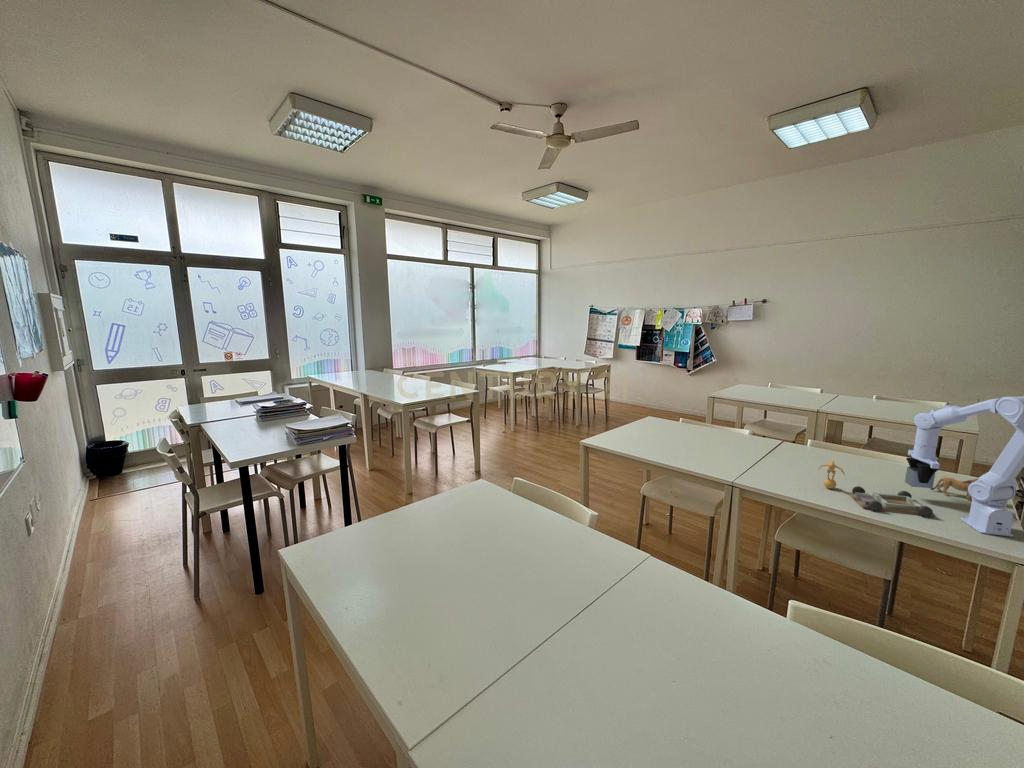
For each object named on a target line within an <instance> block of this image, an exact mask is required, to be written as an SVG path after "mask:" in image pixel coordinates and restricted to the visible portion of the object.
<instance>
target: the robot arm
mask: <svg viewBox="0 0 1024 768" xmlns="http://www.w3.org/2000/svg"><path fill="white" fill-rule="evenodd" d="M944 407H945V408H940V409H931V410H930V412H920V413H918V414H916V415H915V416H914V418H913V423H914V425H915V426H916V433H915V439H914V446H913V449H908V451H907V455H908V456H909V457H906V458H905V459H906V461H907V463H908V465H909V466H908V467H917V468H918V469H919V481H920V483H927V484H928V482H929V480H930V479H931V477H932V476H933V474H934V473H935V474H936V473H937V472H938V471H939V470H940V465H941V464H940V463H939V462H938V461H939V457H937V456H936V452H937V447H938V440H939V437H940V436H939V435H940V433H941V430H942V428H943V427H945V426H946V427H947V426H950V425H956V424H959V423H964V422H966V420H968V417H972V416H978V415H982V414H988V413H993V414H999V415H1001V417H1003V418H1004V419H1005V420H1006V421H1008V423H1010V424H1011V426H1013V427H1014V428H1015V432H1014V434H1013V435H1012V436H1011V438H1010V439H1009V441H1008V442H1007V444H1006V445H1005V447H1004V448H1003V450H1002V452H1001V453H1000V455H999V456H998V457H997V458H996V460H995V461H994V463H993V465H992V466H991V468H990V469H989V470H988V472H986V473H983V474H982V475H981V476H979V477H978V480H977V481H975V482H973V483H971V484H970V485H969V487H968V492H969V494H970V495H971V497H972V499H971V500H972V502H971V503H970V509H969V513H968V517H960V520H961V521H963V522H964V523H965V524H968V525H969V526H970V527H971V528H973V529H974V530H976V531H977V532H979V533H980V534H985V535H986V534H987V535H995V536H1005V537H1014V534H1012V533H1011V531H1012V527H1013V522H1014V516H1013V513H1012V512H1010V510H1008V508H1007V505H1008V502H1009V500H1012V499H1013V498H1014V497H1015V496H1016V492H1017V491H1016V488H1017V486H1018V485H1019V484H1018V481H1016V480H1015V479H1016V478H1017V476H1018V475H1019V473H1020V472H1021V471H1022V469H1023V468H1024V395H1022V396H1002V397H998V398H992V399H987V400H984V401H981V402H976V403H974V404H971V405H965V406H963V407H962V406H958V405H952V404H948V405H945V406H944ZM910 456H911V457H910Z"/></svg>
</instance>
